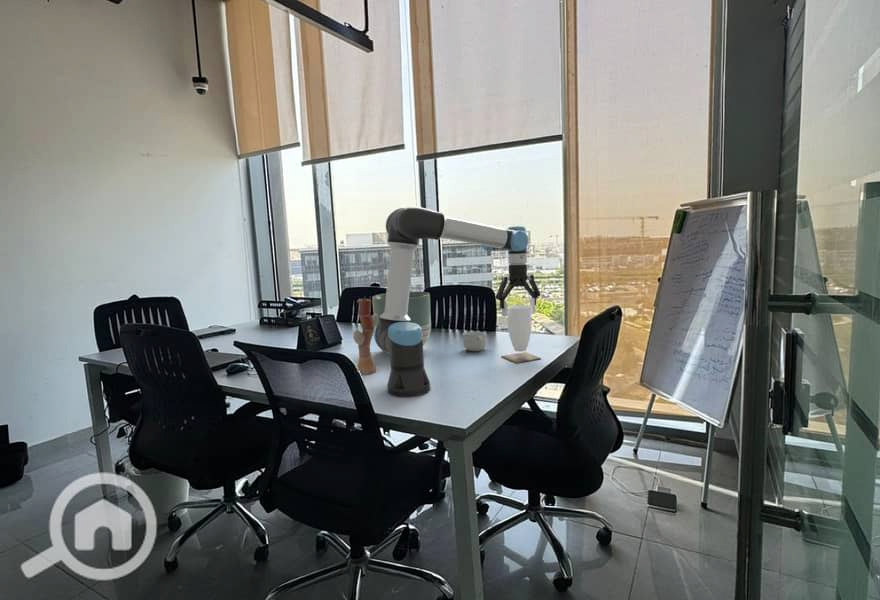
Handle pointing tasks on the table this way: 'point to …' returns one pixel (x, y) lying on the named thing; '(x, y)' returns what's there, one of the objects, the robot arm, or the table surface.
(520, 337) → the cup
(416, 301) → the planter
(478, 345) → the teacup
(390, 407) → the table surface
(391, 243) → the robot arm
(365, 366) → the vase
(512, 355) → the coaster
